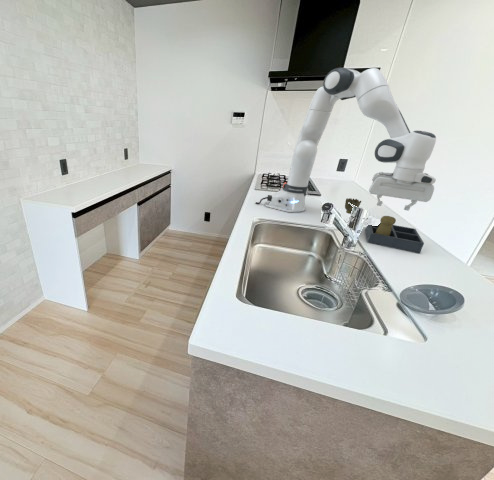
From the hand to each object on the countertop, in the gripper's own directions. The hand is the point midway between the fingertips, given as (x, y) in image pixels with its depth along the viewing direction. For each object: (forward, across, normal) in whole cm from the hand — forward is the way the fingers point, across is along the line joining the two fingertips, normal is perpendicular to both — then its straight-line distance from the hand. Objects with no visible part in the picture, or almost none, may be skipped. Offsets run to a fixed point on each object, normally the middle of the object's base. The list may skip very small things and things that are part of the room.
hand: (392, 207), depth 110 cm
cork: (+15, +1, 0) cm, 15 cm away
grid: (+16, +5, +4) cm, 17 cm away
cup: (+16, -11, +36) cm, 41 cm away
